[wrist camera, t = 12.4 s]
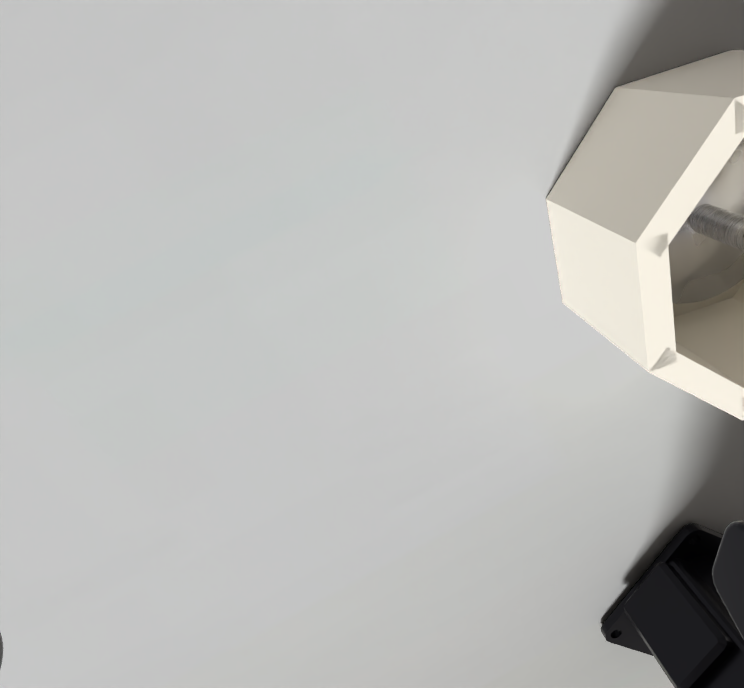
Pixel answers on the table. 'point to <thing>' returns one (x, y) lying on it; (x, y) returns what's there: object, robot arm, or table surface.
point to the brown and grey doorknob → (711, 238)
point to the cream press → (654, 225)
